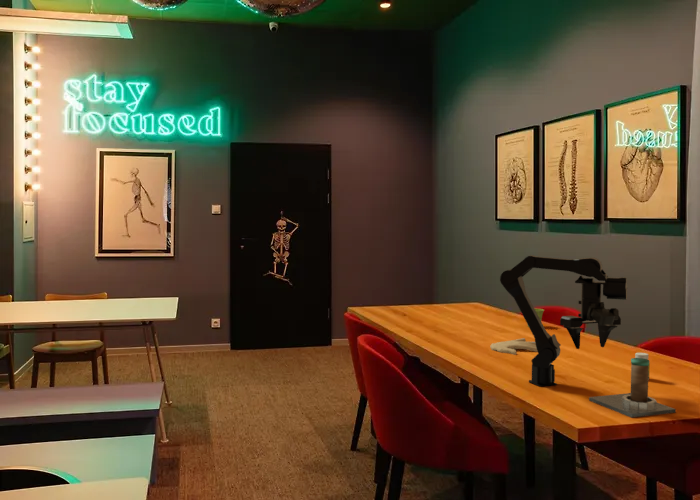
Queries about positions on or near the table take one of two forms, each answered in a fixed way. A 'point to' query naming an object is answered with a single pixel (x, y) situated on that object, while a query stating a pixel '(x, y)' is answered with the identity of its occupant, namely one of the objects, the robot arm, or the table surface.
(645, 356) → the supplement bottle
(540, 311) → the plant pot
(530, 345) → the hand model
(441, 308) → the table surface
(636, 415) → the hub
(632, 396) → the travel tumbler
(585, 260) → the robot arm
